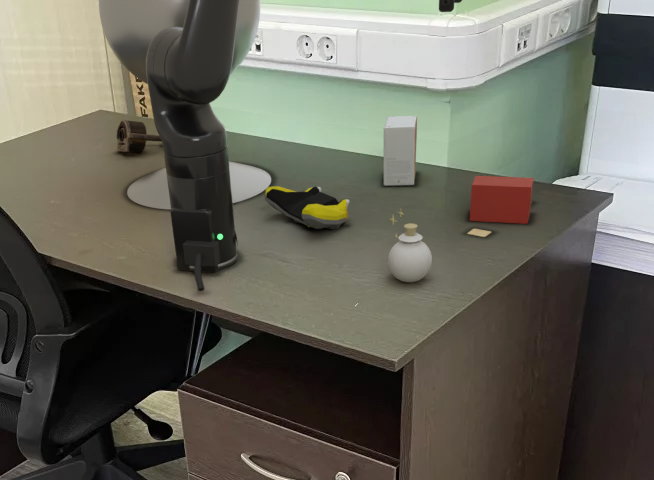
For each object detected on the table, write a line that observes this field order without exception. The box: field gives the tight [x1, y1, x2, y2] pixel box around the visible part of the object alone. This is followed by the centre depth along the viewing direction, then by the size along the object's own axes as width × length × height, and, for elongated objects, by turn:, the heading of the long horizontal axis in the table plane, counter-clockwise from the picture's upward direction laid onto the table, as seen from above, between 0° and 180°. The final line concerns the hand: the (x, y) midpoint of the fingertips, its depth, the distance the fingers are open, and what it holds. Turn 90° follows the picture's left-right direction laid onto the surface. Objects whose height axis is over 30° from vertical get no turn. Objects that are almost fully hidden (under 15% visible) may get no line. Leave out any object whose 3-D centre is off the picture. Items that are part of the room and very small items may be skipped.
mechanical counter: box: [116, 119, 162, 153], centre depth 186 cm, size 7×13×10 cm
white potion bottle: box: [387, 209, 433, 283], centre depth 119 cm, size 6×7×10 cm
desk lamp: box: [98, 0, 272, 211], centre depth 153 cm, size 28×28×45 cm
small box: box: [383, 115, 418, 187], centre depth 156 cm, size 8×6×10 cm
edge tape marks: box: [466, 201, 533, 238], centre depth 139 cm, size 17×3×1 cm, turn 141°
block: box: [469, 175, 535, 225], centre depth 138 cm, size 4×9×6 cm, turn 70°
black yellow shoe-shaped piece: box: [264, 185, 350, 230], centre depth 142 cm, size 15×6×10 cm
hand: (450, 7), depth 135 cm, fingers open, 8 cm apart
